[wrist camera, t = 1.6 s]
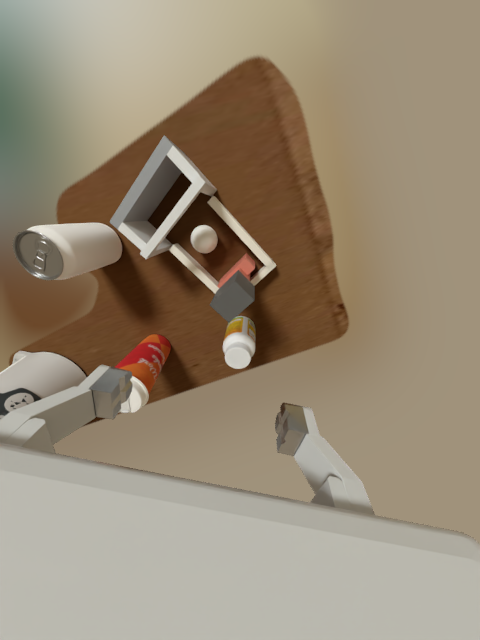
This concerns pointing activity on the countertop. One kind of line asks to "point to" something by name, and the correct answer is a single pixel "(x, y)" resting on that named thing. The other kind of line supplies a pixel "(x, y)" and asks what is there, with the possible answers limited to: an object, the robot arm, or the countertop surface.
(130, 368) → the paper cup
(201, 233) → the ball
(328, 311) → the countertop surface
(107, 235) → the can
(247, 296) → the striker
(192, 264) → the white flat open frame
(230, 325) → the supplement bottle
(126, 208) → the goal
